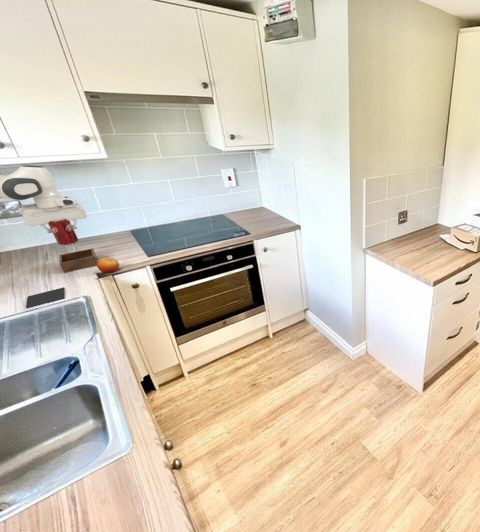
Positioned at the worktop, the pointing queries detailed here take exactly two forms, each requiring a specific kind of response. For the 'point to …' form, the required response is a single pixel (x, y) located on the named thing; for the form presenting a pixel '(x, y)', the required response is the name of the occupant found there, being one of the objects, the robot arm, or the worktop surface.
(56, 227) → the soda can
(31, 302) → the mat
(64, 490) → the worktop surface
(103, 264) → the fruit
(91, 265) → the basket
